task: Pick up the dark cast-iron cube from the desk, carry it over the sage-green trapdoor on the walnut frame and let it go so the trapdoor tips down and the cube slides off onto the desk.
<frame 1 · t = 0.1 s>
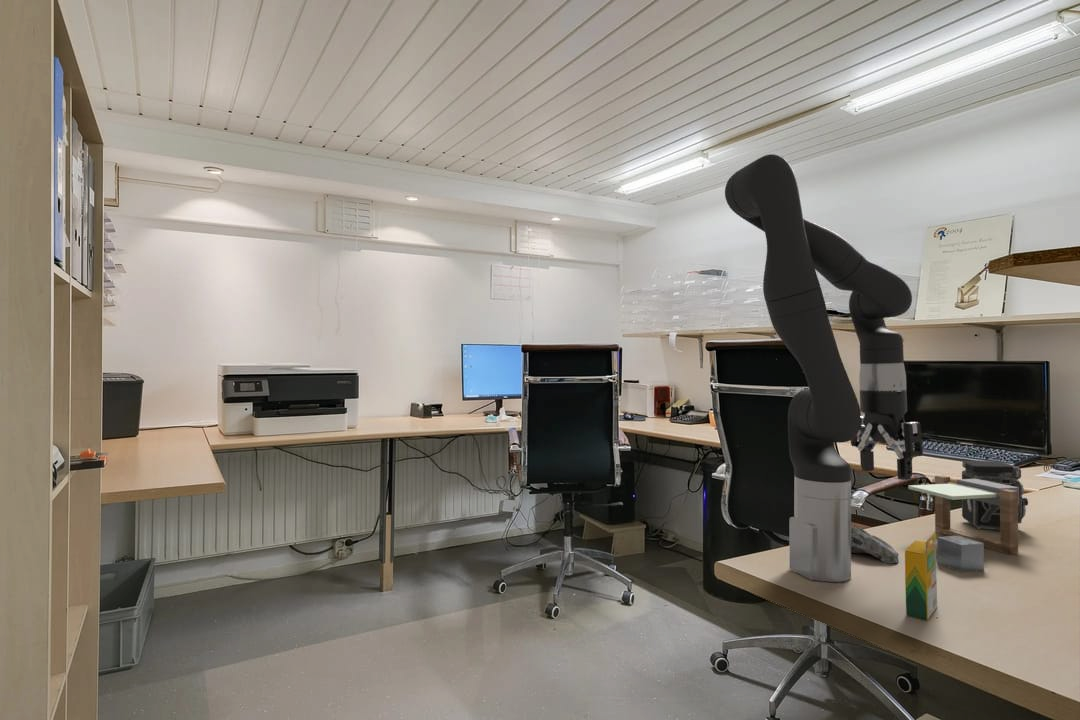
hand: (885, 474, 108), 17 cm above the table, tool pointing down, fingers open, 8 cm apart
camera: (994, 528, 135), on the table
trapdoor: (963, 492, 123), point 10 cm above the table, hinge at 0.0°
crayon box: (921, 612, 89), on the table
iron cube: (960, 566, 108), on the table
frame: (974, 541, 124), on the table
fossilized seashell: (865, 555, 116), on the table
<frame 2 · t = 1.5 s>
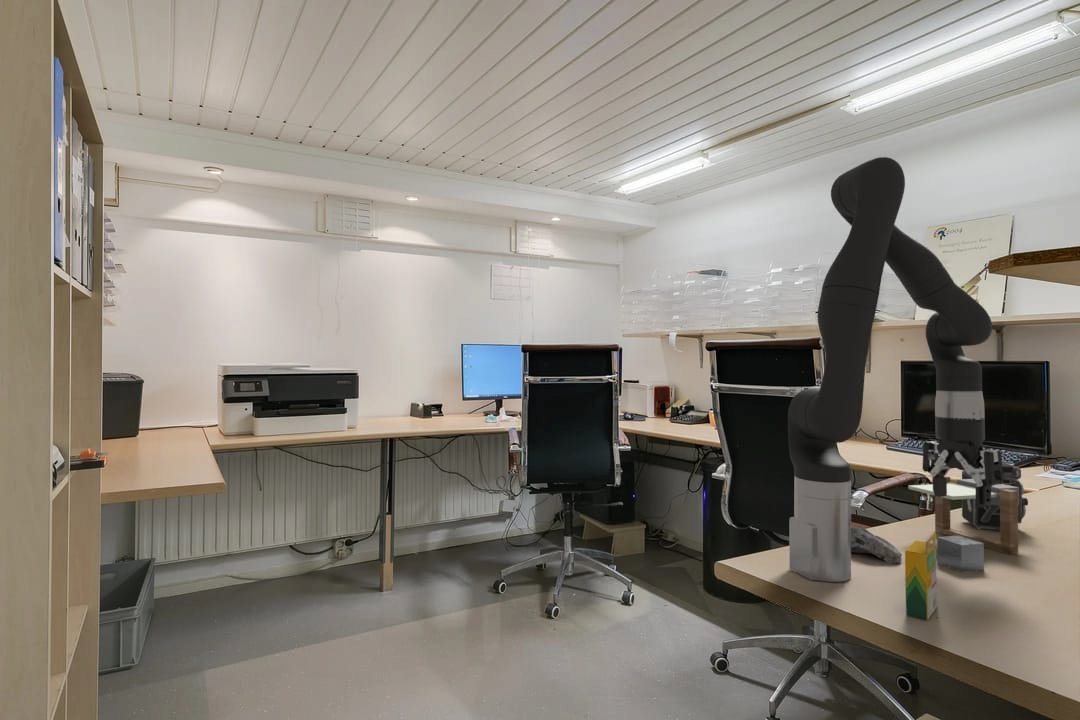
hand: (960, 501, 108), 12 cm above the table, tool pointing down, fingers open, 8 cm apart
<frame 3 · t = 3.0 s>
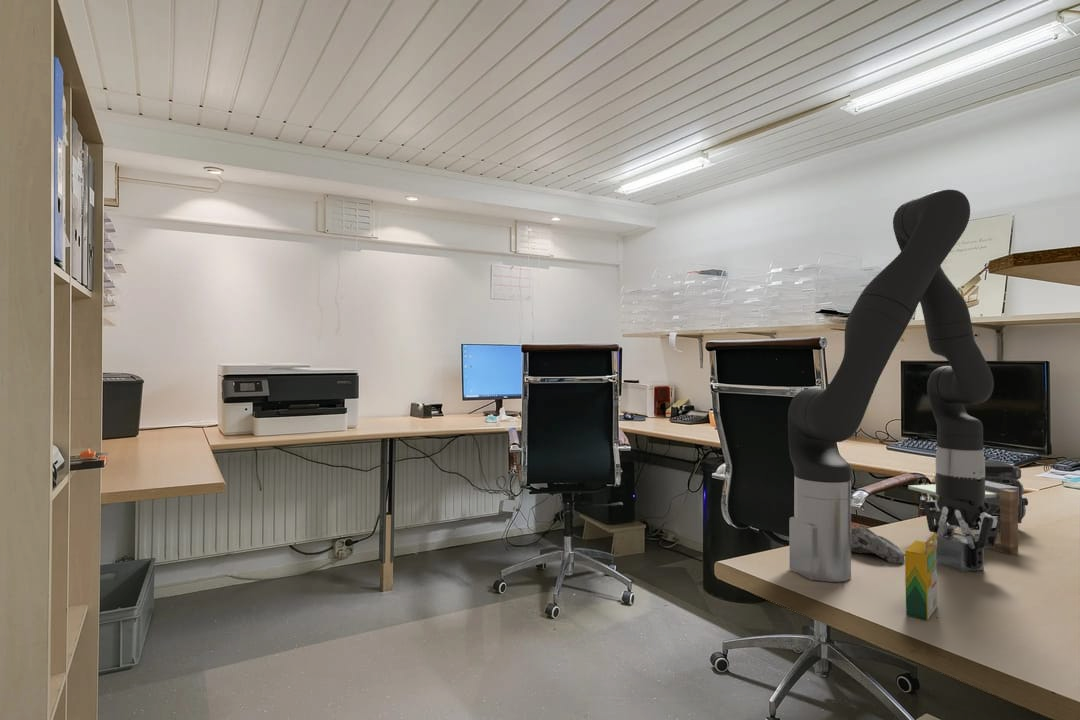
hand: (960, 562, 108), 1 cm above the table, tool pointing down, fingers closed on iron cube, 5 cm apart
iron cube: (960, 566, 108), on the table, touching gripper
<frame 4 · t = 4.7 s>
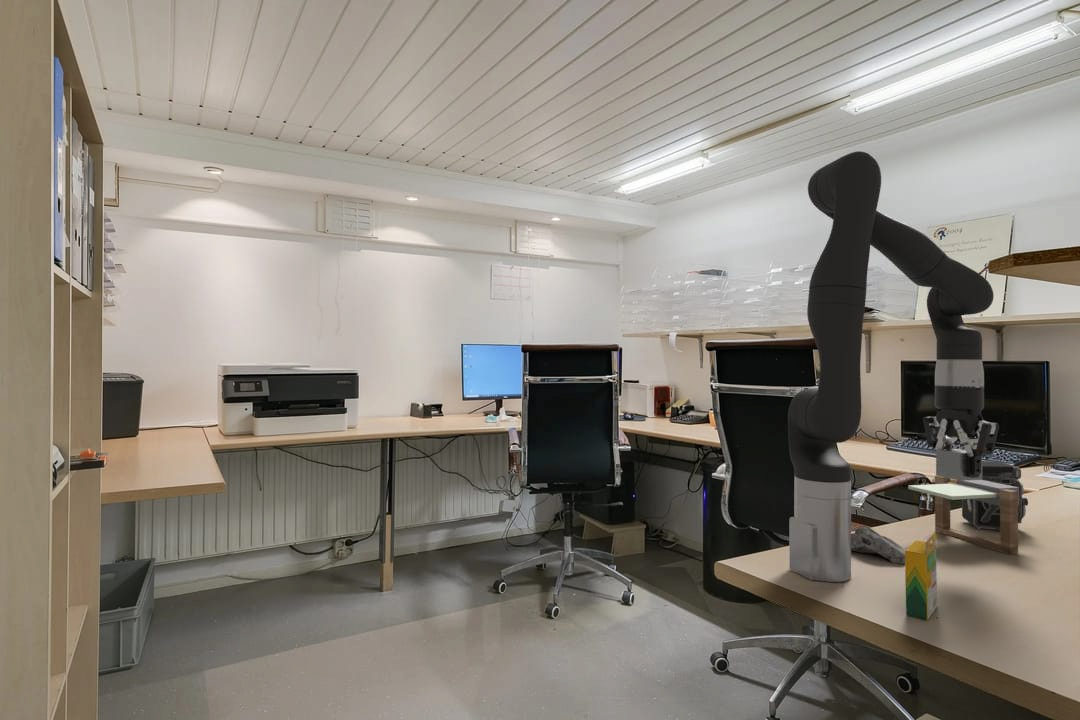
hand: (958, 473, 109), 17 cm above the table, tool pointing down, fingers closed on iron cube, 5 cm apart
iron cube: (958, 477, 109), point 16 cm above the table, touching gripper
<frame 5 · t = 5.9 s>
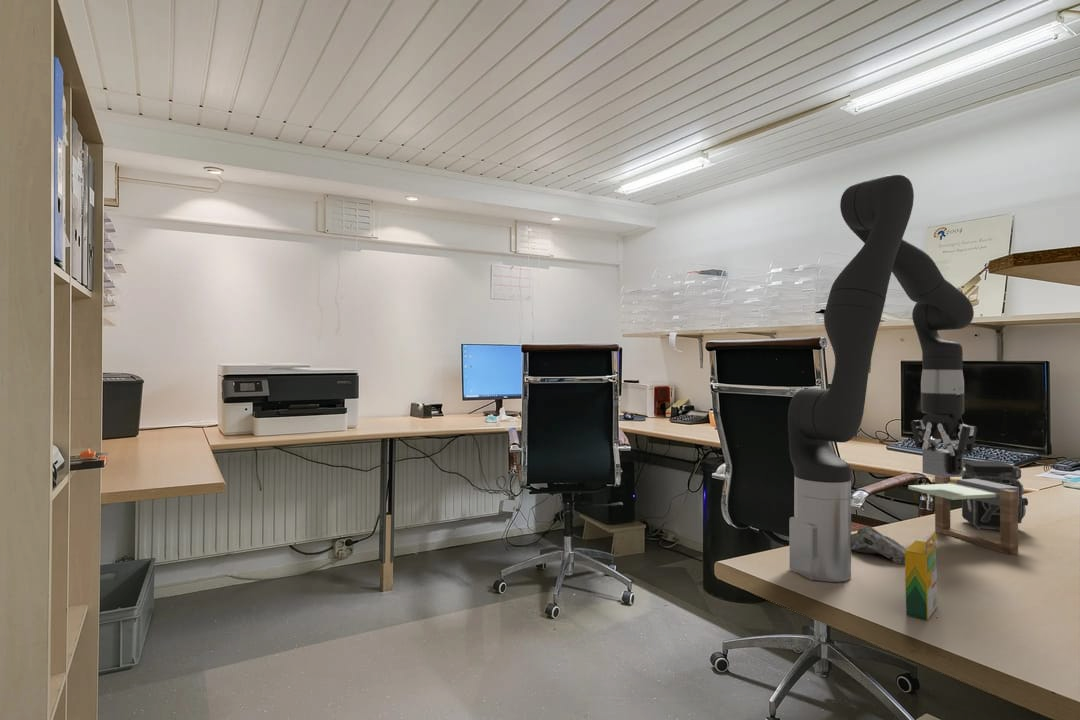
hand: (942, 471, 122), 15 cm above the table, tool pointing down, fingers closed on iron cube, 5 cm apart
iron cube: (942, 474, 122), point 15 cm above the table, touching gripper
when the fingers open (15 cm above the table, at t = 6.3 s): iron cube drops 12 cm and tips over, point 2 cm above the table.
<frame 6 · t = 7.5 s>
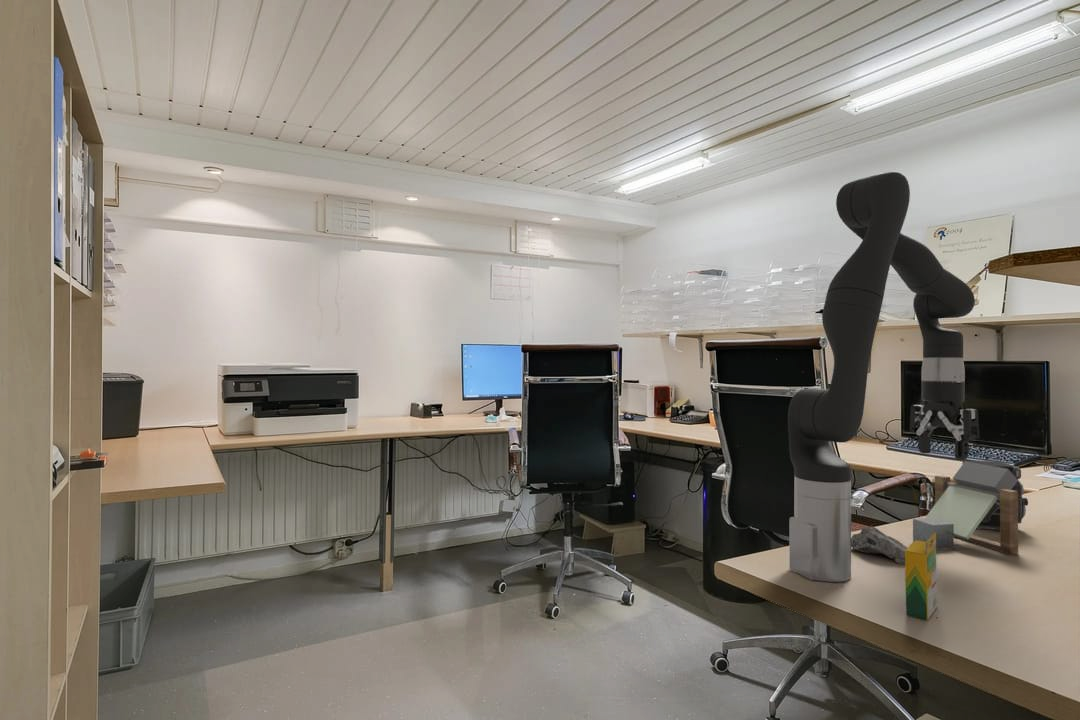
hand: (942, 456, 122), 18 cm above the table, tool pointing down, fingers open, 8 cm apart
trapdoor: (968, 501, 123), point 9 cm above the table, hinge at 46.6°
iron cube: (942, 532, 122), point 2 cm above the table, tilted 90°
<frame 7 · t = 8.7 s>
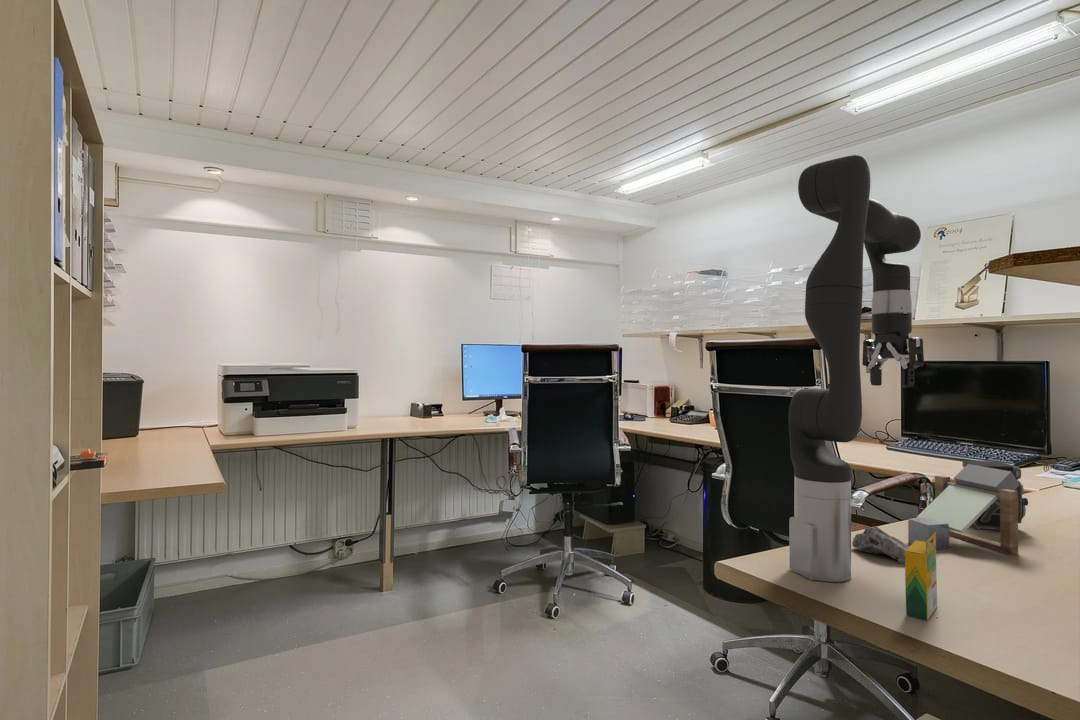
hand: (891, 386, 127), 33 cm above the table, tool pointing down, fingers open, 8 cm apart
trapdoor: (966, 500, 123), point 9 cm above the table, hinge at 37.4°, touching iron cube
iron cube: (938, 532, 122), point 3 cm above the table, tilted 90°, touching trapdoor
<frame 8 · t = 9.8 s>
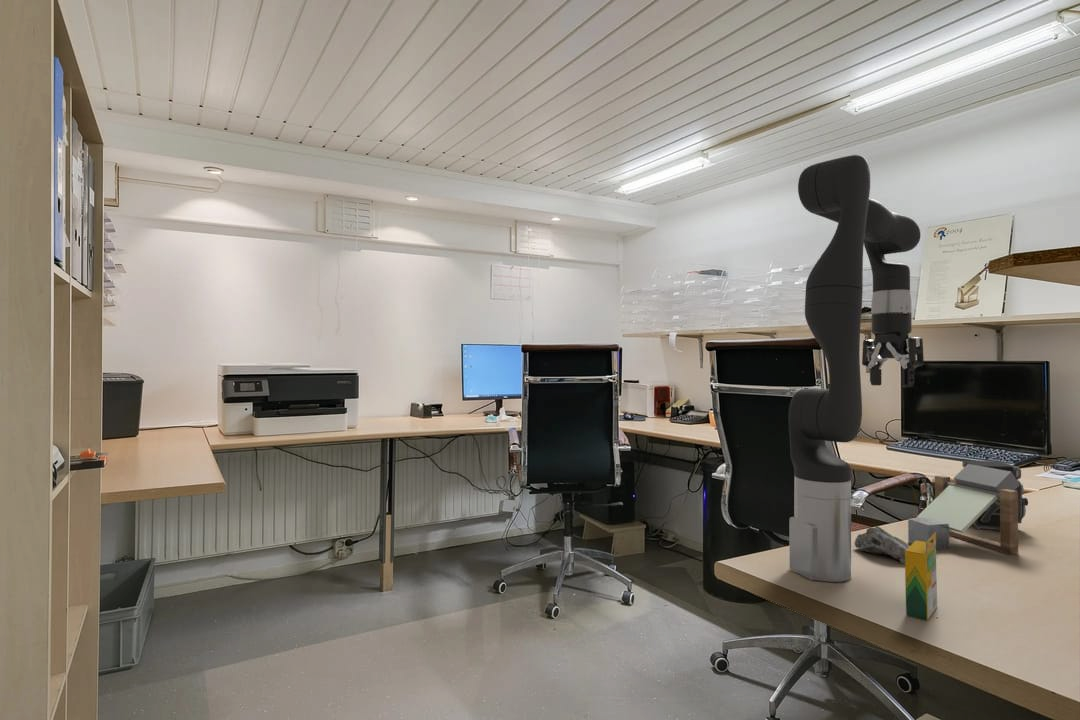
hand: (891, 386, 127), 33 cm above the table, tool pointing down, fingers open, 8 cm apart
at the end: iron cube point 2.5 cm above the table; iron cube inside the target area (0.7 cm from its centre), point 2.5 cm above the table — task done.
